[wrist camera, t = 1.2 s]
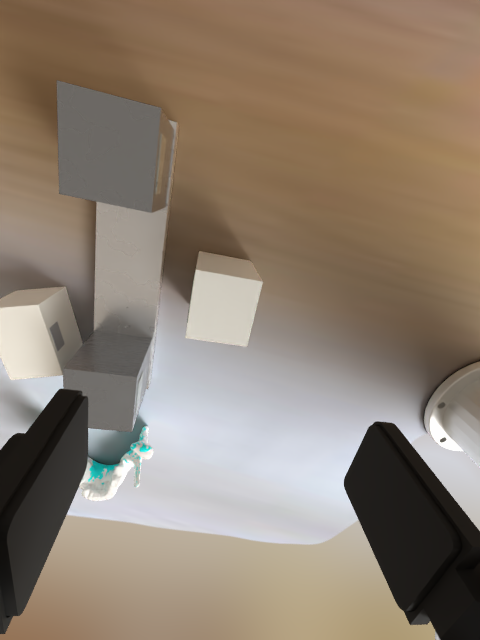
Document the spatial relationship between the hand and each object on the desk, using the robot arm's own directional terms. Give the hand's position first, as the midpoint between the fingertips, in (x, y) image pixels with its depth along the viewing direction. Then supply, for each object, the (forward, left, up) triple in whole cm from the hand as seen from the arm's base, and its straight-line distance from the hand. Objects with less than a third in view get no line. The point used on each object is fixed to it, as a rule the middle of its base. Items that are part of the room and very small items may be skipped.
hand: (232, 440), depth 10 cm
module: (0, 0, -18) cm, 18 cm away
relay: (+14, +6, -18) cm, 24 cm away
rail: (+7, 0, -18) cm, 20 cm away
